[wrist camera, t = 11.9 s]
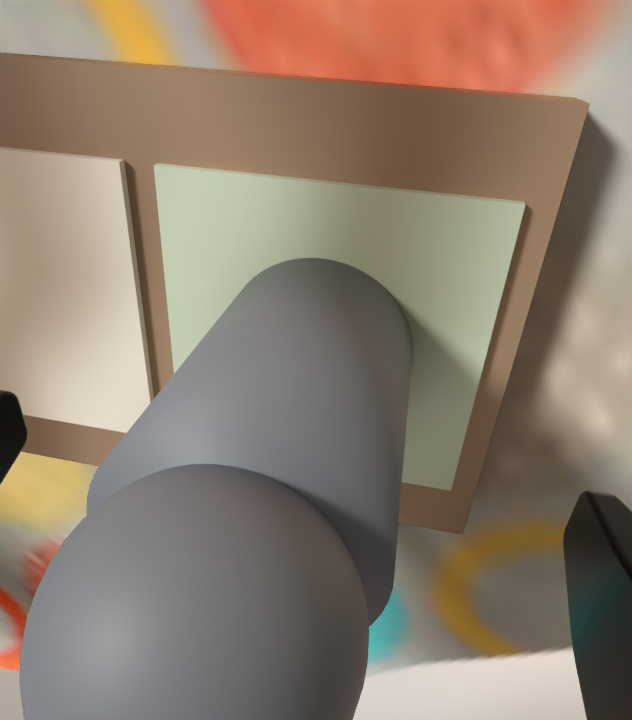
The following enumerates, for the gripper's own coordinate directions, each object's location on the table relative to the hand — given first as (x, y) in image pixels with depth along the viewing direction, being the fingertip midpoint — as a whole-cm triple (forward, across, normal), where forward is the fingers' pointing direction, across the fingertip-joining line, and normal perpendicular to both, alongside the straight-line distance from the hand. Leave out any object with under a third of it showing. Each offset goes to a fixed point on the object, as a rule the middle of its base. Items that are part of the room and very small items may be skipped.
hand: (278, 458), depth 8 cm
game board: (+5, +8, 0) cm, 9 cm away
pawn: (+4, 0, 0) cm, 4 cm away
